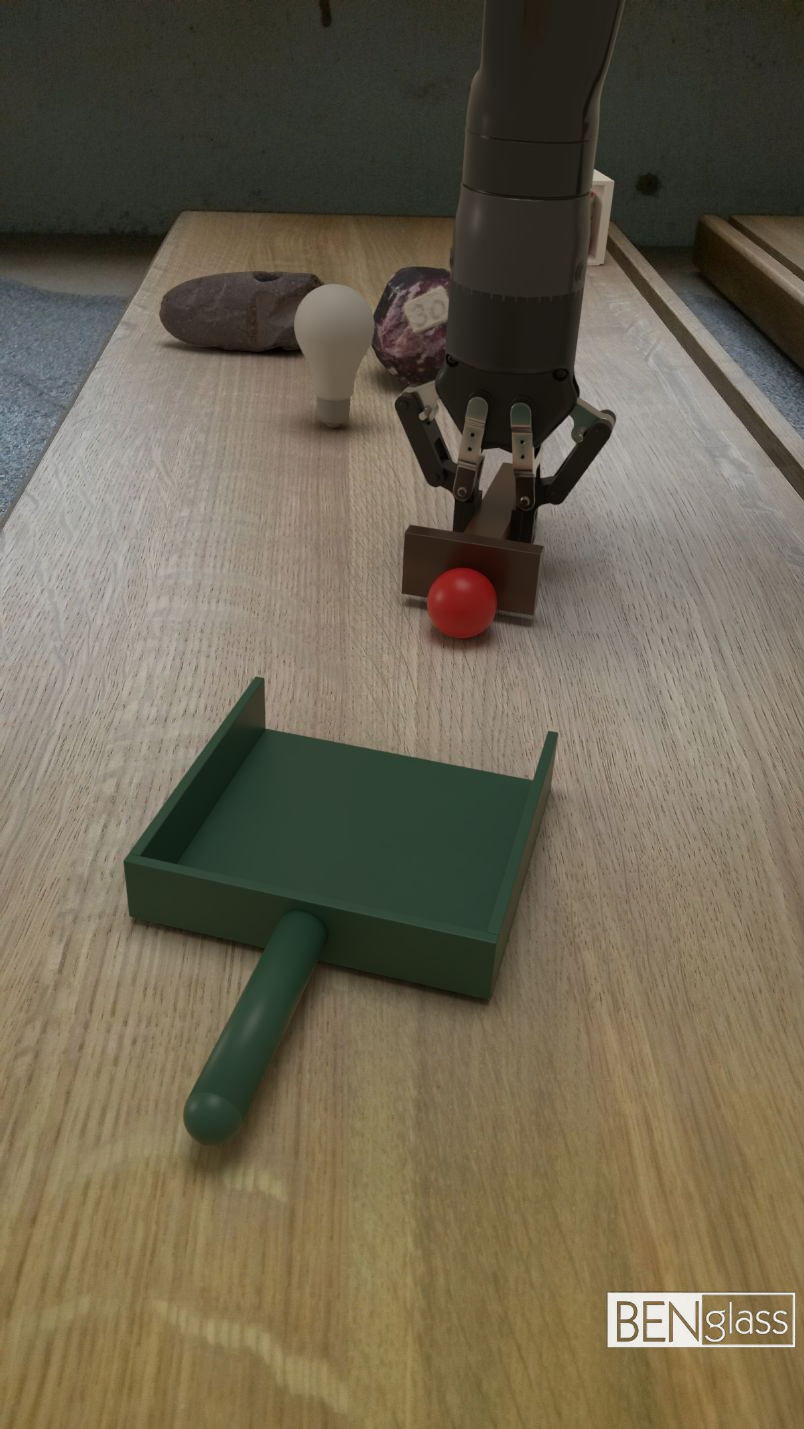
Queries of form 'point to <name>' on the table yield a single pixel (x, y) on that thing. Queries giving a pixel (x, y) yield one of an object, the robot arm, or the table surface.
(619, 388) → the table surface
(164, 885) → the dustpan
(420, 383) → the mineral specimen
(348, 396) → the lightbulb
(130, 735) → the table surface
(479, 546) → the wooden t-shaped pusher
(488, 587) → the red billiard ball
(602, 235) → the cigarette display
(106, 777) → the table surface
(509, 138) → the robot arm
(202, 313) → the perforated stone tool
